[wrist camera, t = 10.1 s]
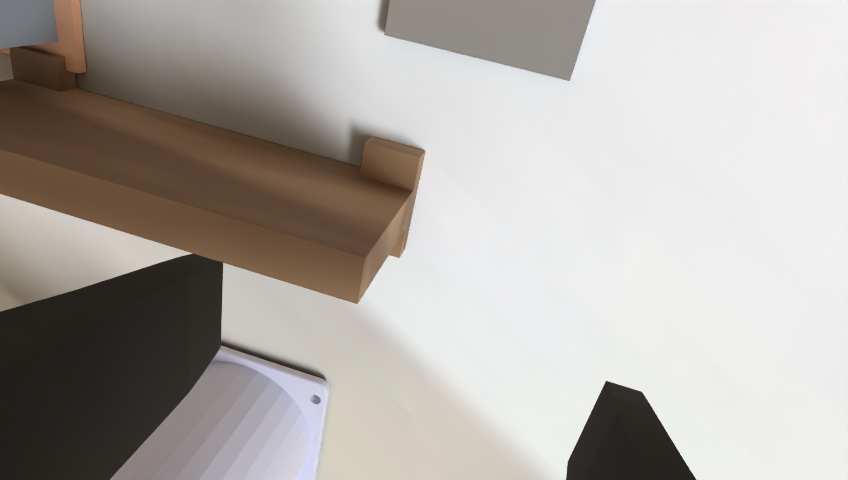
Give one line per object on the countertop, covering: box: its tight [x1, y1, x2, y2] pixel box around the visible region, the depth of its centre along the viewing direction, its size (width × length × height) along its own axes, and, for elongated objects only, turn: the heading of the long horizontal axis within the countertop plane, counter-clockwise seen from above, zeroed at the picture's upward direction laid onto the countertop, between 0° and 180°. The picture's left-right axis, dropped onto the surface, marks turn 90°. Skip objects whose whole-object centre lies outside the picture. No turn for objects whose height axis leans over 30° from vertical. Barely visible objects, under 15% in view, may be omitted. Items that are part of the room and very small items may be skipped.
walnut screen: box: [0, 46, 425, 304], centre depth 18 cm, size 4×16×6 cm, turn 78°
